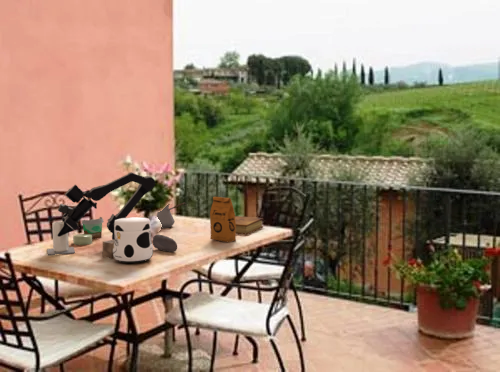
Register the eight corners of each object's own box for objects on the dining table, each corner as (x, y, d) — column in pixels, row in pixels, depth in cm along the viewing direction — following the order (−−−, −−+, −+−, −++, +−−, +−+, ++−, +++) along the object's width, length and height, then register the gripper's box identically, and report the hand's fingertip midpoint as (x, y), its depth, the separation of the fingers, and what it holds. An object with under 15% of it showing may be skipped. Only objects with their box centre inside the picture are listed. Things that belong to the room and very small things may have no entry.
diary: (232, 225, 364) (232, 215, 363) (263, 228, 357) (263, 217, 356) (214, 232, 343) (214, 222, 342) (246, 235, 336) (246, 224, 335)
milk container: (105, 260, 279) (104, 220, 277) (138, 254, 291) (137, 215, 289) (127, 267, 267) (126, 225, 265) (161, 260, 279) (160, 220, 277)
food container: (90, 240, 322) (89, 221, 321) (82, 239, 326) (81, 220, 324) (109, 236, 332) (108, 217, 330) (101, 235, 335) (100, 216, 334)
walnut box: (122, 256, 288) (121, 241, 287) (111, 258, 283) (111, 243, 282) (113, 254, 292) (113, 239, 291) (103, 257, 287) (102, 241, 286)
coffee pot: (149, 227, 357) (149, 200, 356) (163, 224, 367) (162, 198, 365) (179, 231, 346) (178, 203, 344) (192, 227, 355) (192, 201, 353)
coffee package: (226, 243, 313) (225, 199, 310) (207, 240, 321) (207, 197, 318) (239, 240, 321) (239, 197, 318) (220, 237, 328) (220, 195, 326)
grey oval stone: (181, 252, 295) (180, 237, 294) (172, 254, 292) (171, 239, 291) (160, 247, 306) (160, 233, 305) (151, 249, 302) (151, 235, 301)
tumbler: (70, 250, 297) (69, 223, 295) (56, 252, 293) (55, 224, 292) (65, 248, 302) (64, 221, 301) (52, 250, 298) (50, 222, 297)
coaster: (73, 248, 305) (73, 246, 305) (75, 253, 294) (75, 252, 294) (47, 250, 301) (47, 248, 301) (47, 255, 290) (47, 254, 290)
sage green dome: (95, 243, 316) (94, 235, 315) (77, 246, 310) (77, 238, 310) (88, 240, 323) (87, 233, 322) (70, 243, 317) (70, 235, 317)
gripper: (67, 195, 305) (43, 219, 303) (69, 200, 287) (44, 226, 285) (84, 210, 308) (61, 234, 306) (87, 216, 291) (63, 242, 288)
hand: (57, 234), depth 296 cm, fingers open, 9 cm apart
